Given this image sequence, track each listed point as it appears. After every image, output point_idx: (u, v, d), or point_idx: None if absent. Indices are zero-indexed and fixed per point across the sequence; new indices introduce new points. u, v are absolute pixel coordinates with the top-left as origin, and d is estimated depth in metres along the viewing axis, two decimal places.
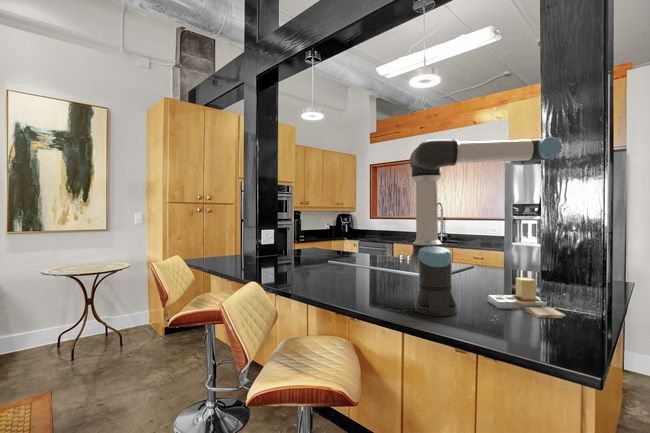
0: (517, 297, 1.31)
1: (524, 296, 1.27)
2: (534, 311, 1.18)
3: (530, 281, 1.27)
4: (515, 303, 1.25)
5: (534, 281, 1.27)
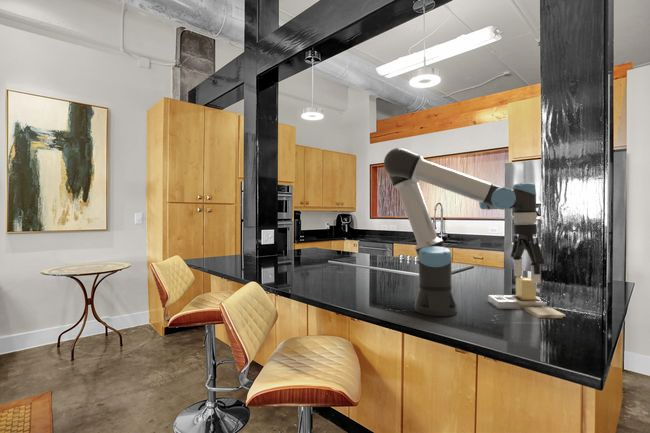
0: (517, 297, 1.31)
1: (524, 296, 1.27)
2: (534, 311, 1.18)
3: (530, 281, 1.27)
4: (515, 303, 1.25)
5: None
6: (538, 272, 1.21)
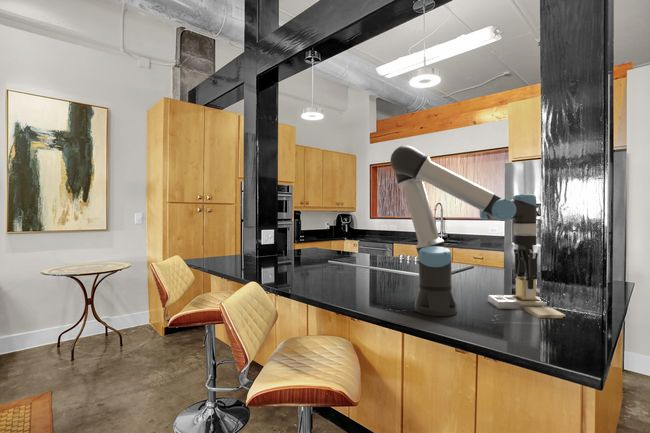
0: (517, 297, 1.31)
1: (524, 296, 1.27)
2: (534, 311, 1.18)
3: None
4: (515, 303, 1.25)
5: (534, 281, 1.27)
6: (532, 287, 1.25)
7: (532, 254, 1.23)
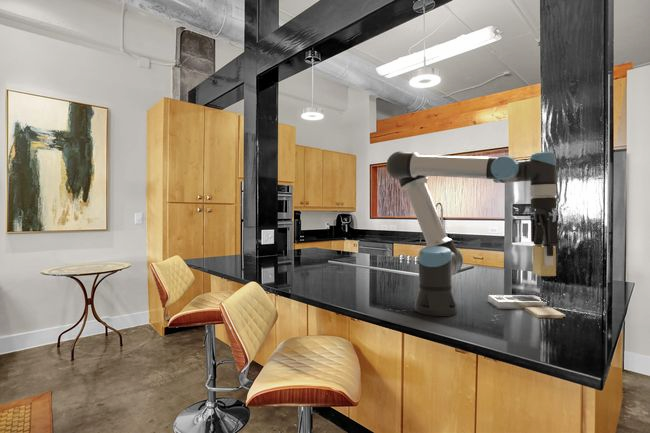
0: (534, 266, 1.20)
1: (542, 265, 1.16)
2: (534, 311, 1.18)
3: None
4: (515, 303, 1.25)
5: (554, 247, 1.15)
6: (551, 253, 1.14)
7: (552, 217, 1.12)
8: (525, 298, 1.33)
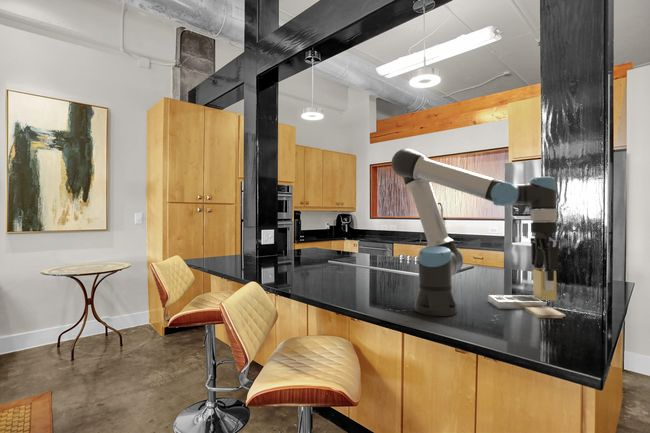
0: (535, 290, 1.20)
1: (543, 289, 1.16)
2: (534, 311, 1.18)
3: None
4: (515, 303, 1.25)
5: (554, 272, 1.16)
6: (552, 278, 1.14)
7: (552, 242, 1.12)
8: (525, 298, 1.33)
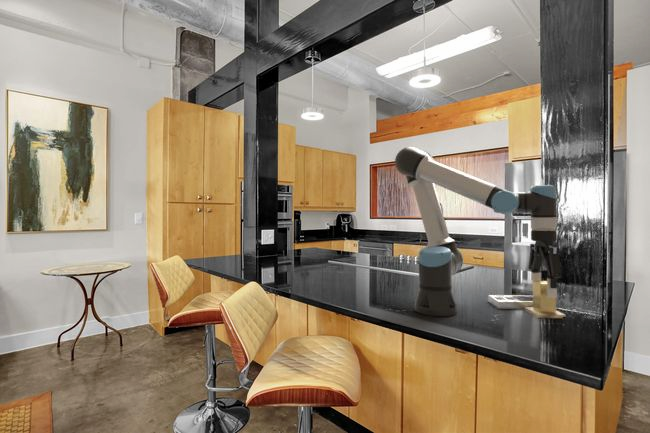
0: (534, 302, 1.20)
1: (542, 302, 1.16)
2: (534, 311, 1.18)
3: None
4: (515, 303, 1.25)
5: None
6: (555, 286, 1.12)
7: (552, 248, 1.12)
8: (525, 298, 1.33)
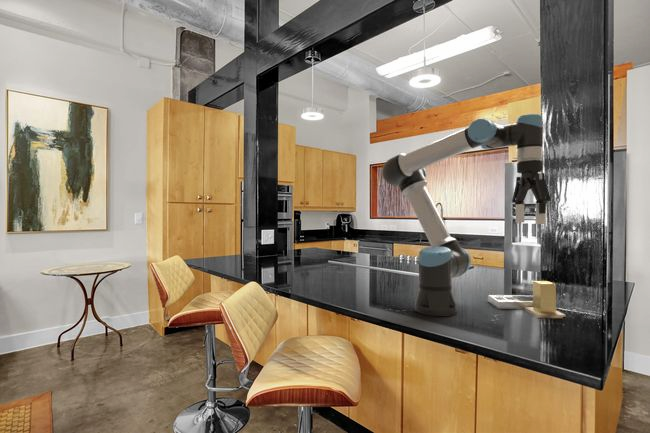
0: (534, 302, 1.20)
1: (542, 302, 1.16)
2: (534, 311, 1.18)
3: (549, 285, 1.16)
4: (515, 303, 1.25)
5: (554, 285, 1.16)
6: (543, 211, 1.08)
7: (538, 173, 1.09)
8: (525, 298, 1.33)
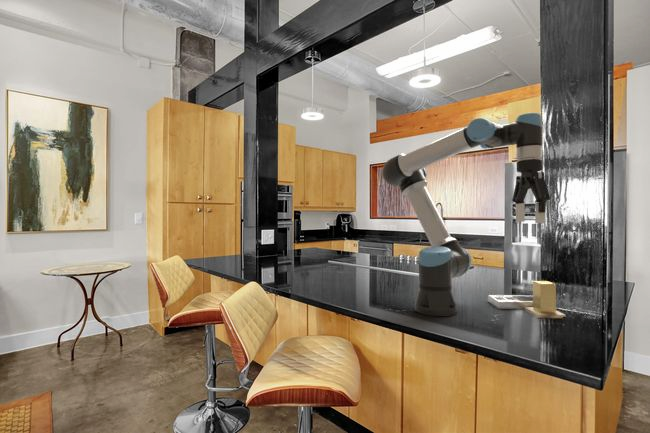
0: (534, 302, 1.20)
1: (542, 302, 1.16)
2: (534, 311, 1.18)
3: (549, 285, 1.16)
4: (515, 303, 1.25)
5: (554, 285, 1.16)
6: (543, 210, 1.07)
7: (537, 172, 1.09)
8: (525, 298, 1.33)
